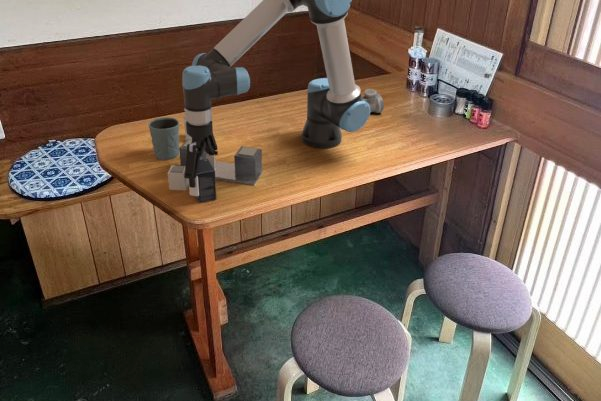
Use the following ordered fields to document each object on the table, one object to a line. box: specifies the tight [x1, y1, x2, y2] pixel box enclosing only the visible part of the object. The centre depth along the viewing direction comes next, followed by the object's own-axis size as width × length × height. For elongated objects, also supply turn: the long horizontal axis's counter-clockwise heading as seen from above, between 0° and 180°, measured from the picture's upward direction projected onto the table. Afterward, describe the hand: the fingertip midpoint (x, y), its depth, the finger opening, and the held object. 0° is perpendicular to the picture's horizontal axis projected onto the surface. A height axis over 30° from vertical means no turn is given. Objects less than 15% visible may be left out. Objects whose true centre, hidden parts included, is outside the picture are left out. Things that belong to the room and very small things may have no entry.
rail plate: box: [179, 139, 264, 186], centre depth 184 cm, size 26×10×9 cm, turn 76°
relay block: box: [167, 165, 189, 191], centre depth 177 cm, size 5×5×6 cm
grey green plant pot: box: [148, 116, 180, 161], centre depth 193 cm, size 10×10×12 cm
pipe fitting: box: [362, 88, 385, 114], centre depth 228 cm, size 12×8×10 cm
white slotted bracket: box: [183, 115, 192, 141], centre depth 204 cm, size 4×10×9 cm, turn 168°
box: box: [195, 159, 217, 204], centre depth 171 cm, size 8×6×11 cm
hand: (203, 184), depth 172 cm, fingers open, 13 cm apart
